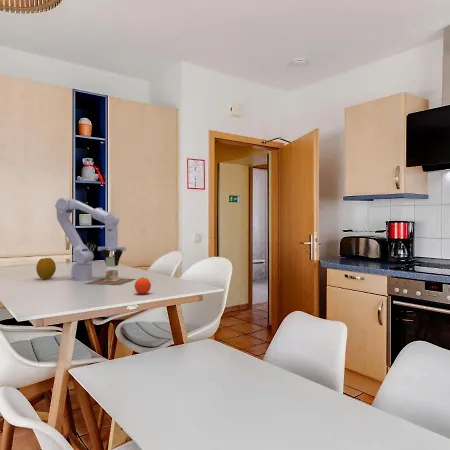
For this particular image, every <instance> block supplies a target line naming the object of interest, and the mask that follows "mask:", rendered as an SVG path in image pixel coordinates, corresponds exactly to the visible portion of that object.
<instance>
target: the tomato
mask: <svg viewBox="0 0 450 450" xmlns="http://www.w3.org/2000/svg"><path fill="white" fill-rule="evenodd" d="M151 282H152V283H154V282H153V280H151V281H150V278H148V277H140V278H139V277H138V278H137V279H136V281H135V283H134V289H135V291H136V292H137V293H138V294H139V295H140V294H141V295H145V294H147V293H149V292H150V291H151V288H152V283H151Z"/></svg>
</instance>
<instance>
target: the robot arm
mask: <svg viewBox="0 0 450 450" xmlns="http://www.w3.org/2000/svg"><path fill="white" fill-rule="evenodd" d="M55 208H56V219H57V222H58V223H59V225H60V227H61V229H62V230H63V232H64V234H65V237H67V239H68V241H69V244H70V245H71V247H72V249H73V251H72V253H73V256H74V261H75V262H76V263H74V264H73V265H72V266H71V269H70V272H71V273H70V274H71V281H81V282H82V281H83V282H84V281H92V280H93V277H92V276H93V264H92V263H93V259H94V258H95V255H94V252H92V251H91V250H90V249H89V248H88V246H86V245H85V244H84V242H83V240H82V238H81V237H80V235H79V233H78V231H77V230H76V228H75V226H74V224H73V223H72V221H71V219H70V216H71V214H72V213H73V212H74V211H75V210H80V211H82V212H84V213H87V214H90V215H91V217H92V219H94V220H97V221H99V222H101V223H102V224H104V225H105V246H97V251H98V252H100V251H101V252H100V254H101V255H102V258H103V259H104V262H105V264H106V258H107V257H110V254H111V251H112V252H113V254H114V257H115V265H118V266H119V263H120V258H121V256H122V255H123V253H124V252H126V251H127V246H119V243H118V242H119V241H118V240H119V239H118V238H119V236H118V234H119V233H118V232H119V231H118V230H119V229H118V224H119V222H120V217H119V216H117V215H116V214H114V213H113V214H112V213H111V212H110V211H106V210H104V209H103V208H102V207H96V208H93V207H92V206H89V205H87V204H86V203H84V202H82V201H80V200H77V199H74V198H66V197H60V198H58V199H57V200H56V203H55Z"/></svg>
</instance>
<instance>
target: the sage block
mask: <svg viewBox="0 0 450 450" xmlns="http://www.w3.org/2000/svg"><path fill="white" fill-rule="evenodd" d="M105 267H106V268H109V267H110V268H111V267H112V268H115V267H119V264H118V265H115V256H109V257H107V258H106V263H105Z"/></svg>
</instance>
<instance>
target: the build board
mask: <svg viewBox="0 0 450 450" xmlns="http://www.w3.org/2000/svg"><path fill="white" fill-rule="evenodd" d="M135 280H136V281H137V278H123V277H122V278H119V277H118V279H117V280H106V277H101V278H98V279H95V280H93V281H92V280H91V281H88V282H86V283H84V285H94V286H97V285H98V286H122V285H125V284H127V283H131V282H134V281H135Z"/></svg>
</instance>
